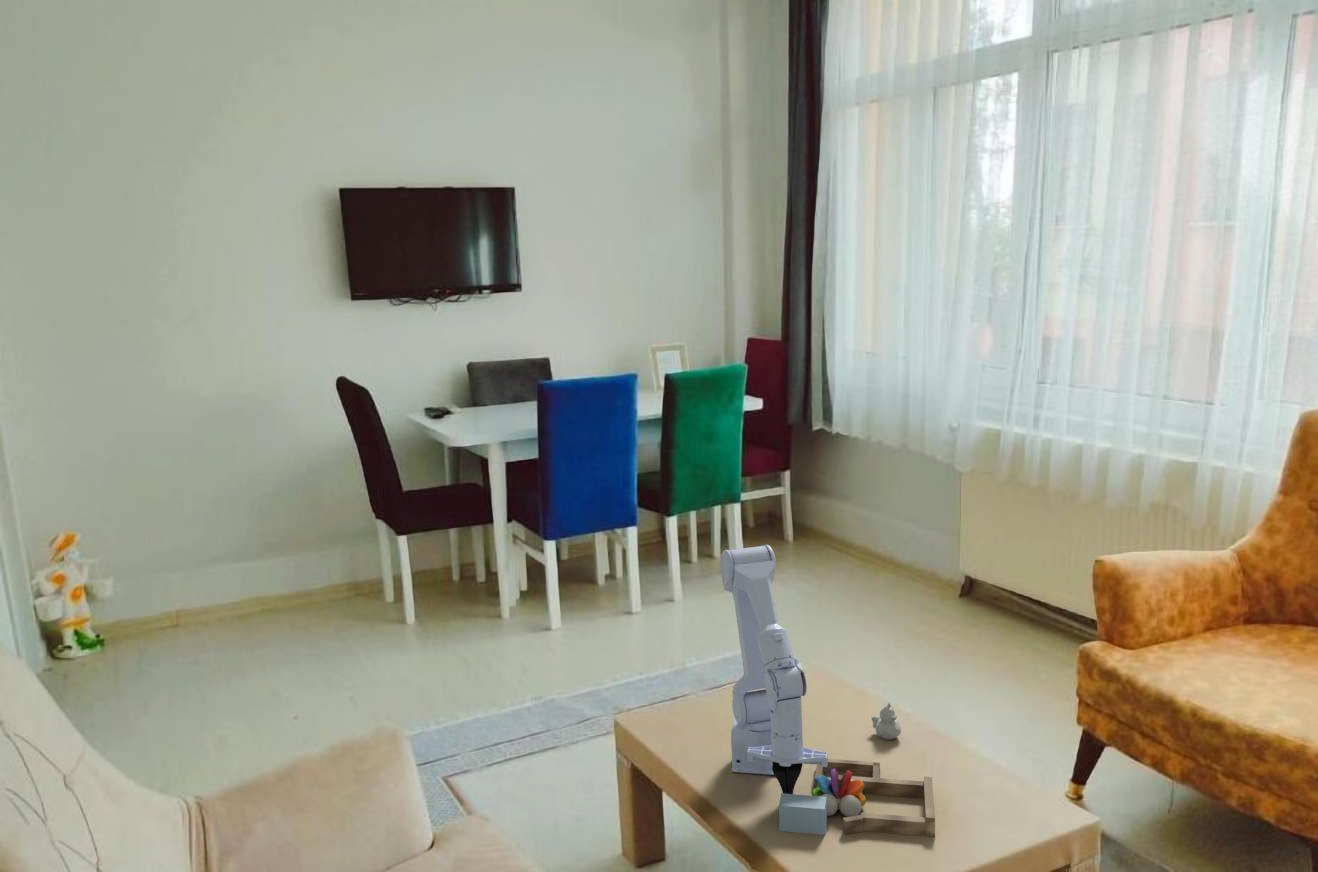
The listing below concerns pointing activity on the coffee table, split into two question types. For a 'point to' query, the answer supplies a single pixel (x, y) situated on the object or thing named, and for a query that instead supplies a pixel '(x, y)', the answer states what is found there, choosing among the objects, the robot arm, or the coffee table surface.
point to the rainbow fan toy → (841, 793)
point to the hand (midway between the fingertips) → (788, 798)
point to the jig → (885, 788)
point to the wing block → (803, 814)
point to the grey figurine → (886, 723)
